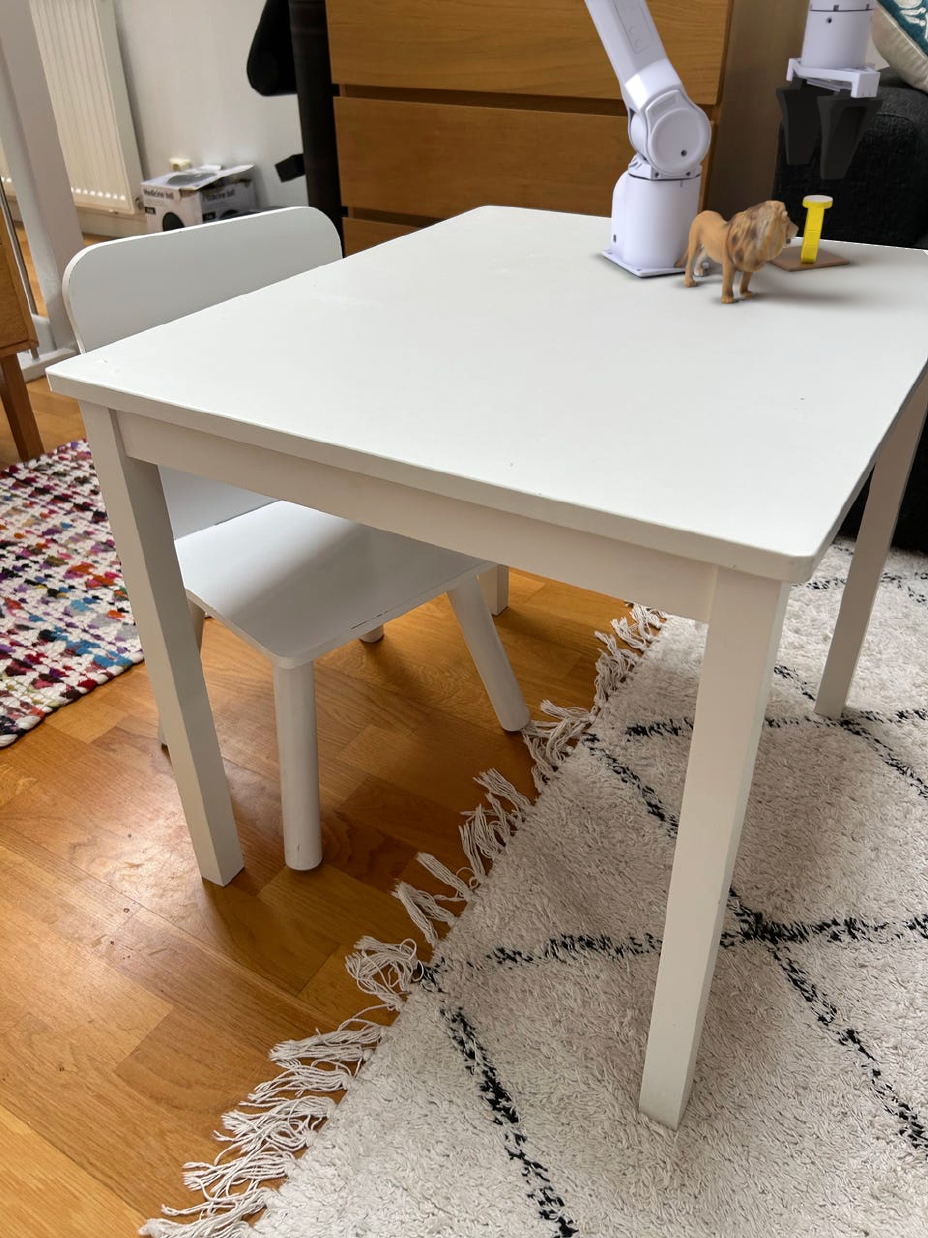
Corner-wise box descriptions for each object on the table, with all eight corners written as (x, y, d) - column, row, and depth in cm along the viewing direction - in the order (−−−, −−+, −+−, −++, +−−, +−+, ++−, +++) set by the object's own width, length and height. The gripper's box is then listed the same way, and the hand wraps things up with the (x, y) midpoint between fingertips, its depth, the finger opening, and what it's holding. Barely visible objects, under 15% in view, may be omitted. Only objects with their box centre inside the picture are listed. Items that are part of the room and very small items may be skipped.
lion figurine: (794, 304, 88) (812, 200, 83) (751, 315, 86) (767, 209, 81) (688, 269, 99) (697, 175, 94) (647, 278, 97) (655, 181, 92)
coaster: (752, 254, 102) (752, 251, 102) (809, 247, 104) (810, 244, 104) (789, 271, 97) (789, 268, 97) (849, 263, 98) (849, 260, 98)
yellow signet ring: (794, 250, 102) (803, 190, 98) (821, 252, 101) (832, 191, 98) (793, 266, 97) (803, 203, 94) (821, 267, 96) (833, 204, 93)
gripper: (925, 11, 82) (889, 182, 90) (844, 3, 94) (819, 155, 102) (847, 15, 81) (818, 187, 89) (776, 7, 93) (756, 159, 101)
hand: (814, 170), depth 96 cm, fingers open, 7 cm apart
